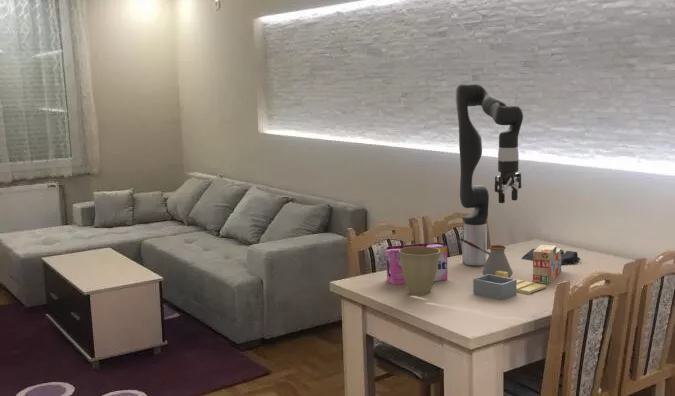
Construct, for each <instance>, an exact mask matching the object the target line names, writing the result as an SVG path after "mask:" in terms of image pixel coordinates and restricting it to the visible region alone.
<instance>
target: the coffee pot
mask: <svg viewBox="0 0 675 396" xmlns="http://www.w3.org/2000/svg"><path fill="white" fill-rule="evenodd" d="M463 241H464V243H467V244H468V245H470V246H472V247H474V248H476V249H479V250H481V251H483V252H485V253H486V254H487V255H488V258H487V261H486V264H485V265H483V269H482V271H481V272H482V273H481V274H482V276H484V275H487V274H490V275H495V272H496V271H505V272H508V278H511V276H513V273H514V271H513V270H512V267H511V265H510V262H509V261H508V259H507V256H506V253H505V250H506V246H505V245H501V244H493V245H490V246H488V248H489V249H490V251H488V250H487V251H486V250H483V249H481V248H480V247H478V246H476V245H475V244H473V243H471V242H468V241H467V240H464V238H460V239H459V240H458V244H460V243H461V242H463Z"/></svg>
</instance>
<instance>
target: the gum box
mask: <svg viewBox="0 0 675 396" xmlns="http://www.w3.org/2000/svg"><path fill="white" fill-rule="evenodd" d="M417 246H420V247H432V248H437V249H439V250H440V256H439V263H438V268H437V272H436V276H435V279H434V282H439V281H447V280H448V245H446V244H444V243H442V242H441V241H440V242H439V241H438V242H427V243H426V242H425V243H416V244H414V243H413V244H404V245H392V246H386V253H385V258H386V280H387V281H388V283H390V284H392V285H393V286H394V285H404V284H405V283H406V282H405V279H404V276H403V272H402V267H401V262H400V256H399V250H400V249H402V248H405V247H417ZM405 285H406V284H405Z"/></svg>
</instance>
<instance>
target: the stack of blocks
mask: <svg viewBox="0 0 675 396" xmlns="http://www.w3.org/2000/svg"><path fill="white" fill-rule="evenodd" d="M534 249H535V250H534V251H533V261H532V282H535V283H537V282H544V283H543V284H548V283H549V284H551V283H552V281H553V280H555V278H556V277H557V275H558V274H560V273H561V272H562V266H561V250H562V248H559V247H557V245H551V244H550V245H549V244H540V245H539V246H538V247H537V248H534Z"/></svg>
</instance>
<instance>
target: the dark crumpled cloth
mask: <svg viewBox="0 0 675 396" xmlns="http://www.w3.org/2000/svg"><path fill="white" fill-rule="evenodd" d="M535 249H536V248H532V249H531V250H529V251H528V252H527V253H525V254H524V255H523V256H522V257H521V259H522V260H526V261H530V262H531V261H532V262H533V251H534V250H535ZM564 251H565V250H563V249H561V267H562V266H569V265H571V264H576V263H577V262H579V261H580V260H581V258H580V257H579V255H578V252H577V251H571V250H567V251H565V252H564Z"/></svg>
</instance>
